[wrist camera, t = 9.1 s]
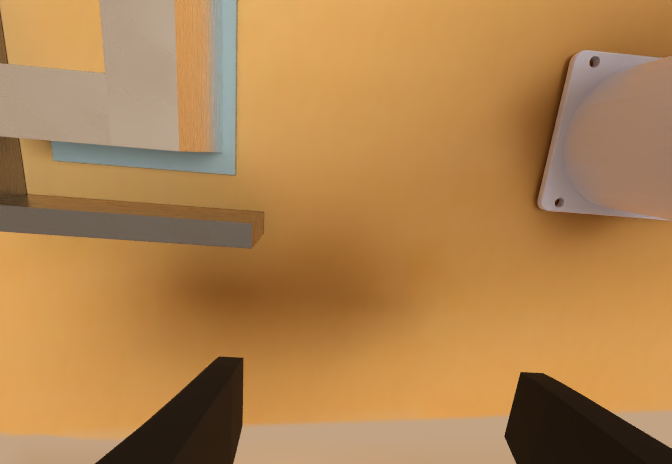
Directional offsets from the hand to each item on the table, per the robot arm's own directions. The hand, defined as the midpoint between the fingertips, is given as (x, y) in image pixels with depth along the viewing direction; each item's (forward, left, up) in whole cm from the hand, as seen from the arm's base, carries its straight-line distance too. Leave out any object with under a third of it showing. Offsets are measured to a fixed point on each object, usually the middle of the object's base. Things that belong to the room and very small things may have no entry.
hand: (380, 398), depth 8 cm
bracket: (+11, -10, -10) cm, 18 cm away
